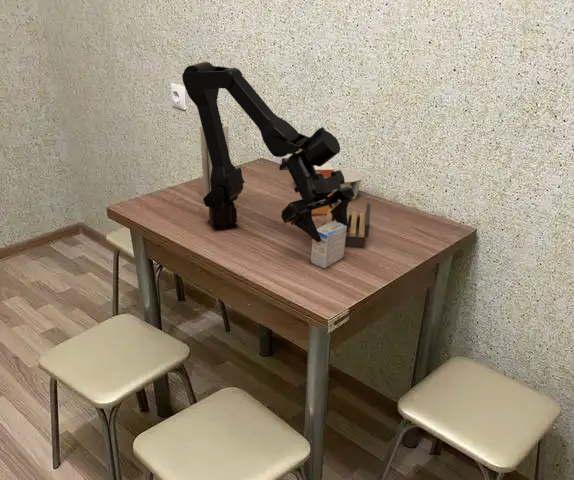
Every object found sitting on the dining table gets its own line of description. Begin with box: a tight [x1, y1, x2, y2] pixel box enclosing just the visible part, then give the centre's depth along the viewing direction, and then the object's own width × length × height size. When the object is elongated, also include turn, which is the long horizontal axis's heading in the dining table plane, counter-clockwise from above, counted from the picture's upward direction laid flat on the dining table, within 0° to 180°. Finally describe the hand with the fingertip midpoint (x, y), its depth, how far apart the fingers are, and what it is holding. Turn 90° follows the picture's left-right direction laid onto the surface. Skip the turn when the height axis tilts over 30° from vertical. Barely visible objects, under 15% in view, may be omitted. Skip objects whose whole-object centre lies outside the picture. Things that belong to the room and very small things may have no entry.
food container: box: [332, 167, 364, 201], centre depth 173 cm, size 12×12×6 cm
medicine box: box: [310, 221, 347, 269], centre depth 138 cm, size 8×4×9 cm, turn 141°
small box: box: [299, 161, 334, 216], centre depth 161 cm, size 8×6×13 cm
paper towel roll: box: [199, 121, 230, 198], centre depth 164 cm, size 7×6×21 cm
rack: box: [324, 203, 372, 249], centre depth 150 cm, size 11×14×6 cm
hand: (333, 237), depth 135 cm, fingers closed on medicine box, 8 cm apart
